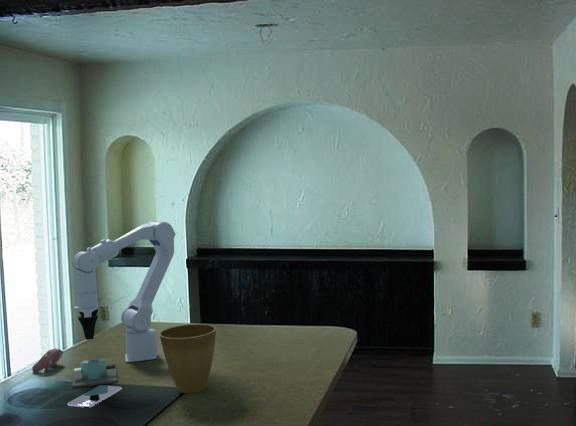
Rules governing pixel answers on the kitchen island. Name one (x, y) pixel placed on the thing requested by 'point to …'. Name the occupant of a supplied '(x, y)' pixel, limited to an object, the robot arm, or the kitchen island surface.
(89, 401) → the mobile phone
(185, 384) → the plant pot
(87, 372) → the plug
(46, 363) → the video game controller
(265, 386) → the kitchen island surface
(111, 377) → the pad
